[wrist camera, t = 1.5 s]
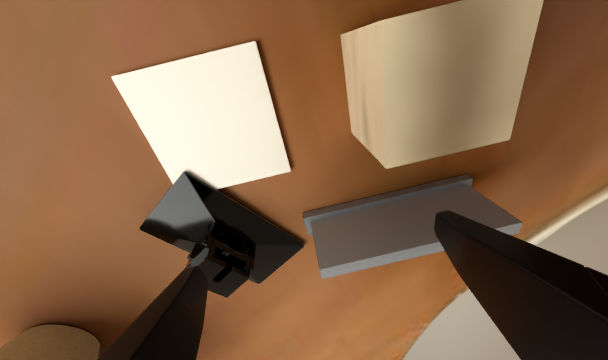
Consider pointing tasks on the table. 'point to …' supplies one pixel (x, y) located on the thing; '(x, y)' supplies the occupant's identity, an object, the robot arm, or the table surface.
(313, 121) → the table surface
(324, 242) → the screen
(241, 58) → the reading pad
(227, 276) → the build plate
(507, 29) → the letter block
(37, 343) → the plant pot
